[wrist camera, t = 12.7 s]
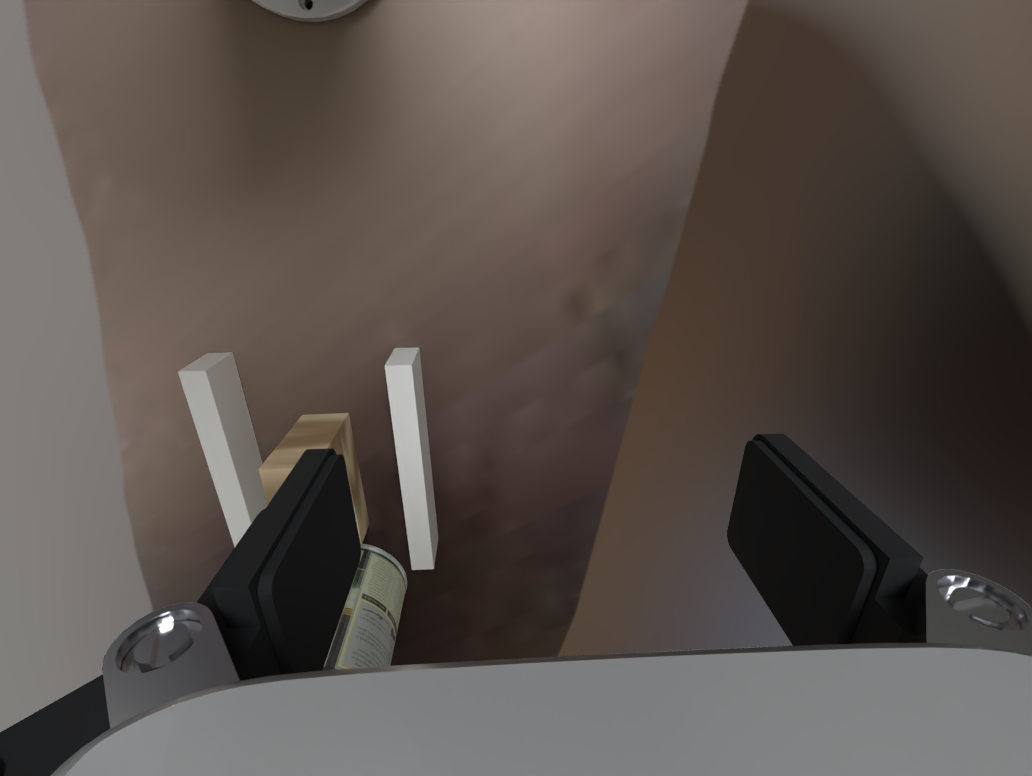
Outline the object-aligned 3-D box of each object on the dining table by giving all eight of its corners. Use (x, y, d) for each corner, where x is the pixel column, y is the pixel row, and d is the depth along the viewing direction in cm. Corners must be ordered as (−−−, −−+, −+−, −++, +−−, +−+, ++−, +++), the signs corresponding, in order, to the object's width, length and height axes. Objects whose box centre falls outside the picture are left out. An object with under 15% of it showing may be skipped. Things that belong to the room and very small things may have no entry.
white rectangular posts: (207, 352, 39) (177, 371, 35) (419, 347, 39) (411, 365, 36) (263, 545, 47) (244, 577, 43) (438, 538, 47) (433, 569, 44)
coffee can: (358, 630, 52) (314, 780, 39) (284, 575, 48) (209, 720, 36) (429, 585, 50) (407, 727, 37) (358, 524, 46) (306, 658, 33)
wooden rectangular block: (302, 414, 41) (258, 469, 34) (349, 412, 41) (315, 466, 34) (328, 524, 46) (294, 595, 38) (369, 522, 46) (345, 592, 39)
